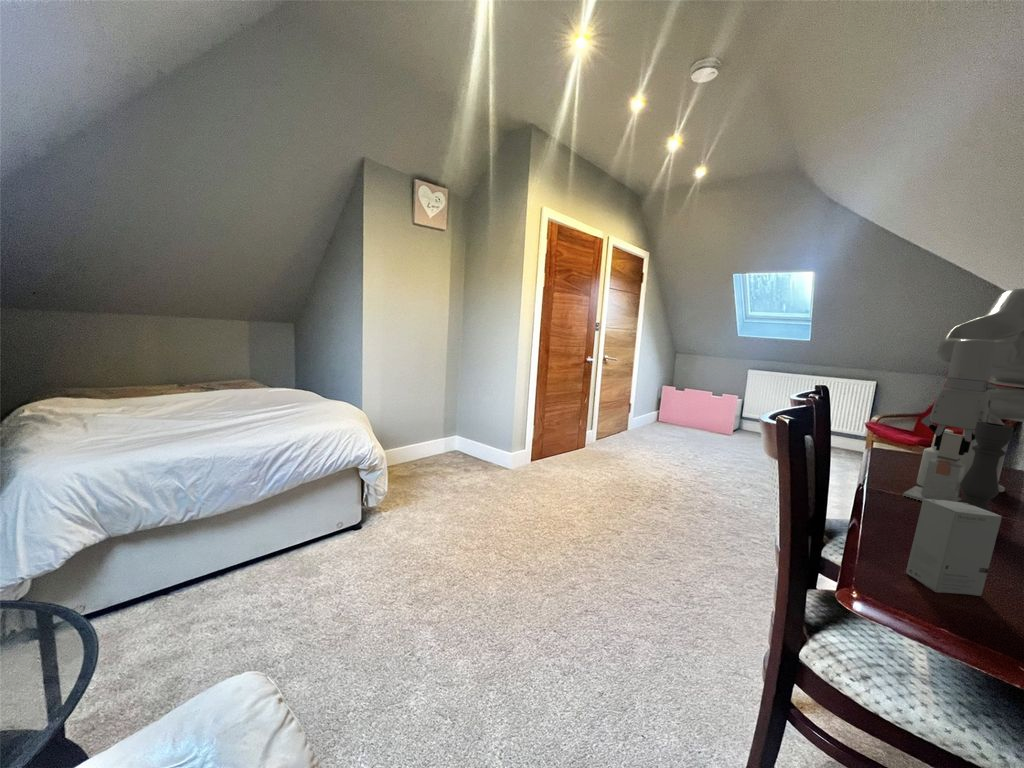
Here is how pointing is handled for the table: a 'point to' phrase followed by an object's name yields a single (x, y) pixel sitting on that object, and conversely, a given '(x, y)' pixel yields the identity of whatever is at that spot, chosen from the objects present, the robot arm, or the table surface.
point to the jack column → (950, 448)
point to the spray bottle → (927, 456)
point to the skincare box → (953, 546)
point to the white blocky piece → (939, 482)
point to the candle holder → (985, 464)
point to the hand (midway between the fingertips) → (950, 451)
